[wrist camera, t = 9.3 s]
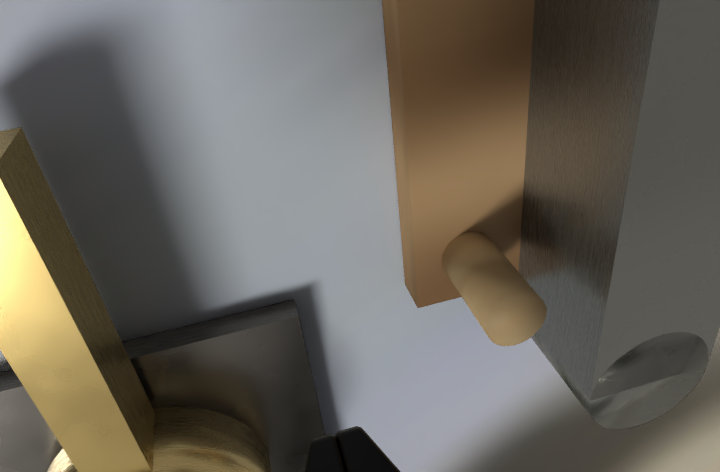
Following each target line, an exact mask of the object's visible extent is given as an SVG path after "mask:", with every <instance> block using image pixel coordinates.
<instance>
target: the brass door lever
mask: <svg viewBox="0 0 720 472" xmlns="http://www.w3.org/2000/svg"><path fill="white" fill-rule="evenodd" d="M0 350H1V352H2V353H3V355H4V356H5V358H6V360H7V361H8V363H9V364H10V366H11V367H12V369H13V371H14V372H15V374H16V375H17V377H18V378H19V380H20V381H21V383H22V385H23V386H24V388H25V389H26V391H27V392H28V394H29V396H30V397H31V399H32V400H33V402H34V403H35V405H36V407H37V408H38V410H39V411H40V413H41V414H42V416H43V418H44V419H45V421H46V422H47V424H48V425H49V427H50V429H51V430H52V432H53V433H54V435H55V436H56V438H57V440H58V441H59V443H60V444H61V446H62V447H63V449H62V450H61V451H60V452H59V454H58V455H57V456H56V457H55V458H54V460H53V462H52V463H51V465H50V467H49V469H48V472H271V465H270V459H269V454H268V451H267V449H266V446H265V444H264V443H263V441H262V440H261V438H260V437H259V436H258V435H257V434H256V433H255V432H254V431H253V430H252V429H251V428H250V427H248V426H247V425H245V424H244V423H242V422H241V421H239V420H237V419H235V418H233V417H230V416H228V415H225V414H222V413H219V412H215V411H211V410H207V409H201V408H194V407H158V408H152V406H151V403H150V401H149V399H148V397H147V395H146V393H145V391H144V388H143V386H142V384H141V382H140V380H139V378H138V376H137V373H136V371H135V369H134V367H133V365H132V363H131V361H130V358H129V356H128V354H127V352H126V350H125V348H124V346H123V344H122V341H121V339H120V337H119V335H118V333H117V331H116V329H115V326H114V324H113V322H112V320H111V318H110V316H109V314H108V311H107V309H106V307H105V305H104V303H103V301H102V299H101V296H100V294H99V292H98V290H97V288H96V286H95V284H94V281H93V279H92V277H91V275H90V273H89V271H88V269H87V267H86V264H85V262H84V260H83V258H82V256H81V254H80V252H79V249H78V247H77V245H76V243H75V241H74V239H73V237H72V234H71V232H70V230H69V228H68V226H67V224H66V222H65V219H64V217H63V215H62V213H61V211H60V209H59V207H58V204H57V202H56V200H55V198H54V196H53V194H52V192H51V190H50V187H49V185H48V183H47V181H46V179H45V177H44V175H43V172H42V170H41V168H40V166H39V164H38V162H37V160H36V157H35V155H34V153H33V151H32V149H31V147H30V145H29V142H28V140H27V138H26V136H25V134H24V132H23V130H22V127H20V128H15V129H9V130H4V131H0Z"/></svg>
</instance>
